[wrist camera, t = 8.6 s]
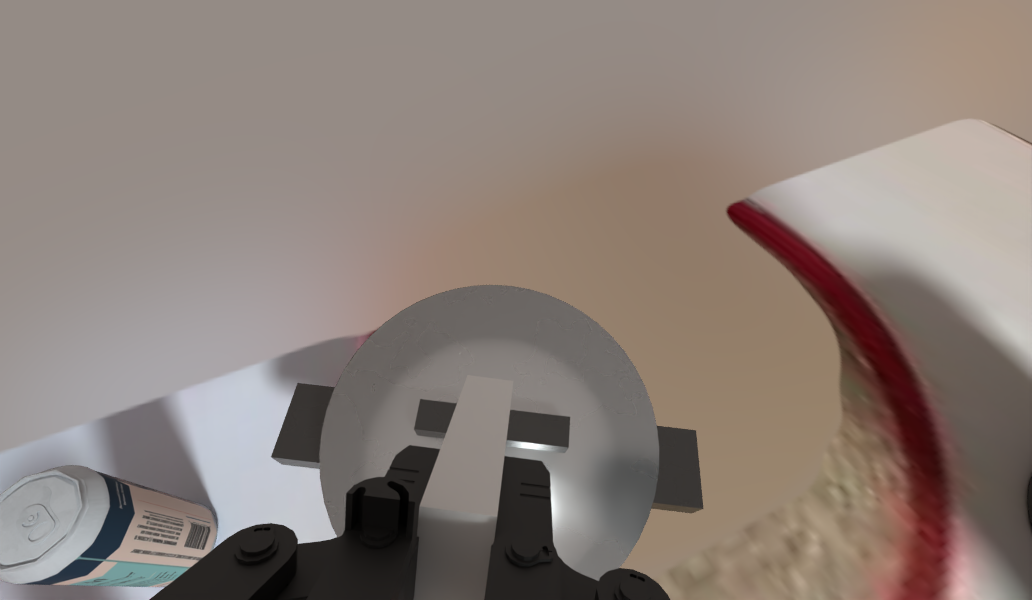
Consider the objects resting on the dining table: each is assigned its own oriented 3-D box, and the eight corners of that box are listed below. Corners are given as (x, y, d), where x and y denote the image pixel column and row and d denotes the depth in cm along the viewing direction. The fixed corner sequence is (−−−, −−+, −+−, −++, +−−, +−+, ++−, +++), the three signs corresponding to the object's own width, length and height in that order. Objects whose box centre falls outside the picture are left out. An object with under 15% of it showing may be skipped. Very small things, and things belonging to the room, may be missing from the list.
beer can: (194, 487, 32) (61, 438, 22) (236, 537, 31) (115, 510, 21) (123, 548, 30) (-59, 525, 20) (165, 606, 29) (-8, 612, 19)
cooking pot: (641, 397, 38) (695, 331, 28) (650, 627, 30) (727, 643, 20) (362, 363, 38) (322, 287, 28) (297, 585, 30) (212, 581, 20)
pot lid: (647, 312, 28) (662, 288, 26) (658, 676, 20) (682, 691, 17) (373, 280, 28) (362, 252, 26) (271, 629, 20) (241, 638, 17)
